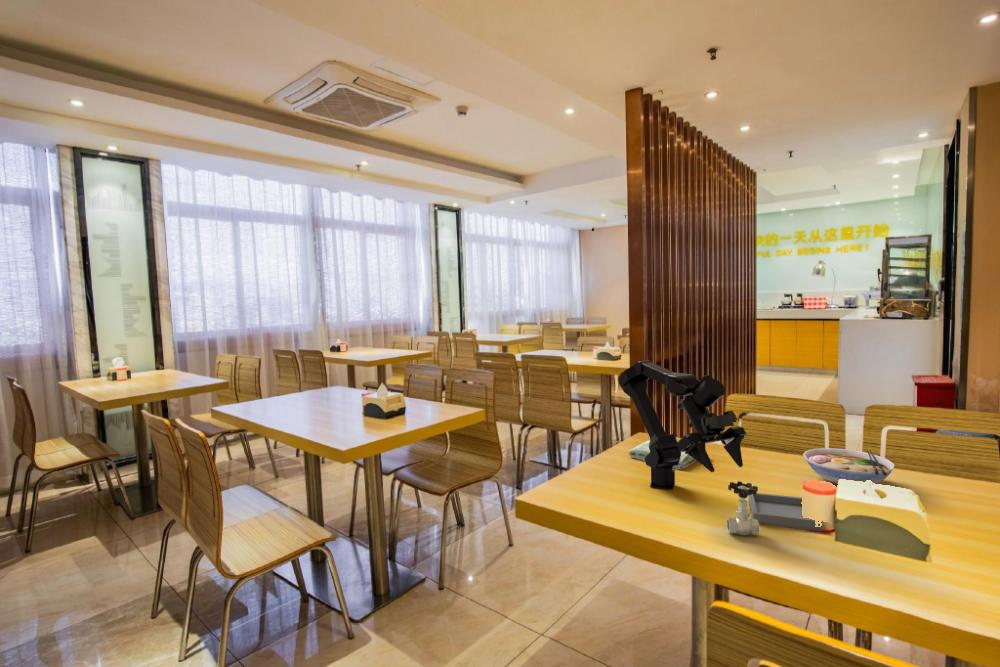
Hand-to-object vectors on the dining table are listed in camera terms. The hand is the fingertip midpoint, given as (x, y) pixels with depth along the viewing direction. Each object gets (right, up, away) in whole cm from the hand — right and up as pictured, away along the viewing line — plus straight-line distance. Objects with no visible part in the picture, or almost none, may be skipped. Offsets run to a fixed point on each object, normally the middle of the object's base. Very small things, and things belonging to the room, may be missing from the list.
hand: (727, 469), depth 130 cm
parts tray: (+16, -13, +3) cm, 20 cm away
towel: (+2, -10, +52) cm, 53 cm away
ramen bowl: (+46, -11, +23) cm, 53 cm away
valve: (0, -14, -7) cm, 16 cm away
